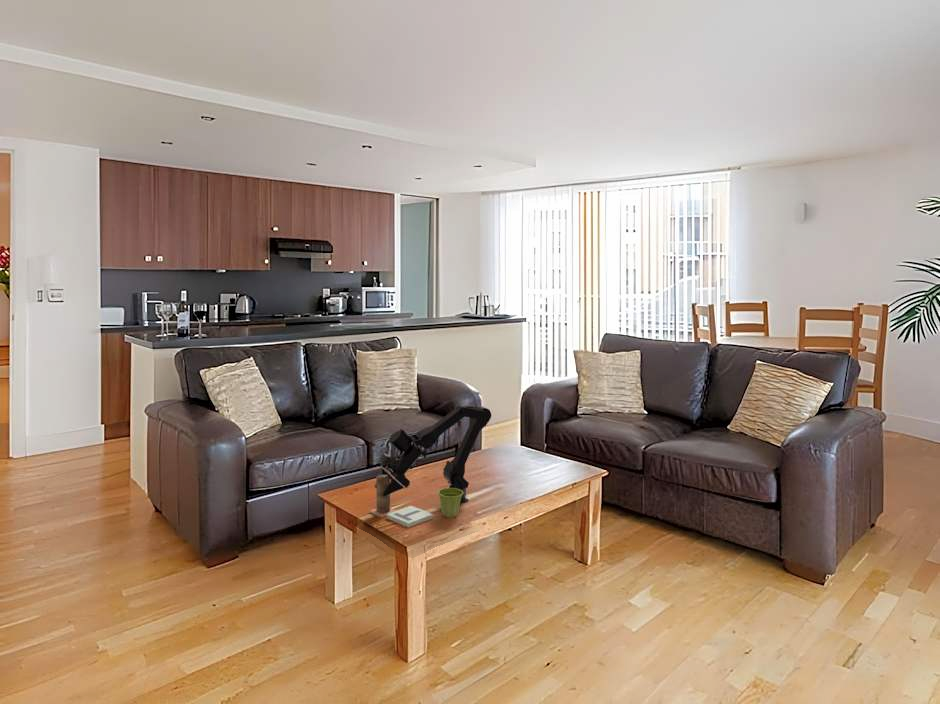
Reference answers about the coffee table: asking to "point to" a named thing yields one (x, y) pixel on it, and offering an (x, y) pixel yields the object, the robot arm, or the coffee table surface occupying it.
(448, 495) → the plant pot
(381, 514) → the terracotta tile
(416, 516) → the letter board
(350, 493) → the coffee table surface
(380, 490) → the walnut post
